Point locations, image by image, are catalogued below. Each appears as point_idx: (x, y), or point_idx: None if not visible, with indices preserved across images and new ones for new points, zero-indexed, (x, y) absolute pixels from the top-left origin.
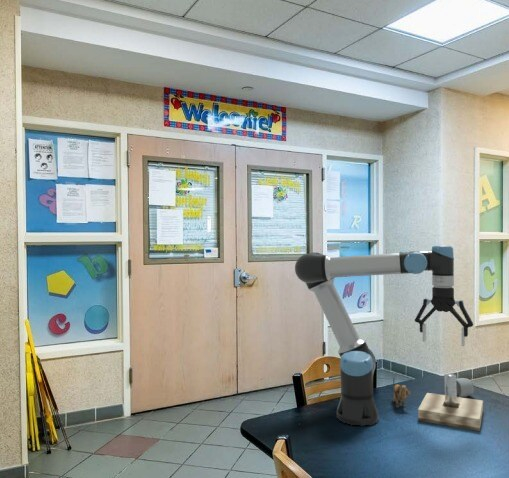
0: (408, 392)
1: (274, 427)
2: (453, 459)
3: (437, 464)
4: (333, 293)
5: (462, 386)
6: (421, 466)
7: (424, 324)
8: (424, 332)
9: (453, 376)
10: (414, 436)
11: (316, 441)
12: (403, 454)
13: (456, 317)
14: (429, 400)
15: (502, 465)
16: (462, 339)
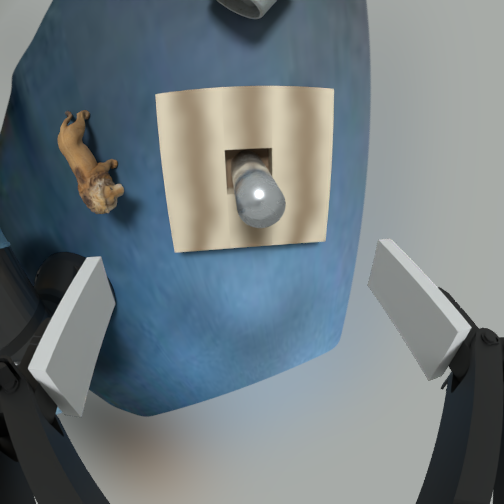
0: (118, 196)
1: None
2: (275, 348)
3: (256, 367)
4: None
5: (265, 6)
6: (238, 378)
7: (68, 407)
8: (95, 357)
9: (276, 217)
10: (199, 313)
11: (95, 375)
12: (207, 365)
13: (434, 473)
14: (181, 165)
15: (339, 331)
16: (392, 313)
